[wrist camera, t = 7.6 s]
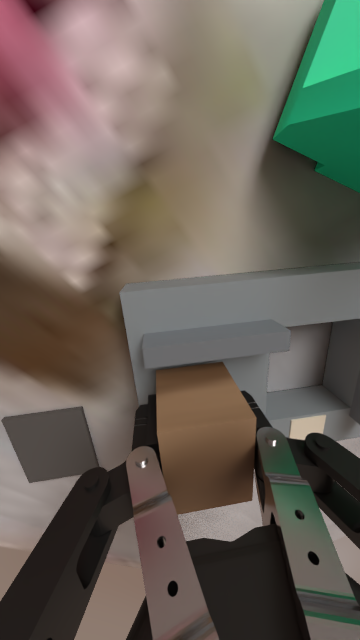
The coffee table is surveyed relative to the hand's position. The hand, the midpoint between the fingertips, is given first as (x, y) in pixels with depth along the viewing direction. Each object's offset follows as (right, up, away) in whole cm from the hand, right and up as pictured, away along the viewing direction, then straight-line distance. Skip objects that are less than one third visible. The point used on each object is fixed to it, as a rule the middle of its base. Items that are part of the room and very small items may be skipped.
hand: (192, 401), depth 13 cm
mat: (-11, -6, +5) cm, 14 cm away
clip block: (0, -1, -2) cm, 2 cm away
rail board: (+5, +2, +4) cm, 7 cm away
